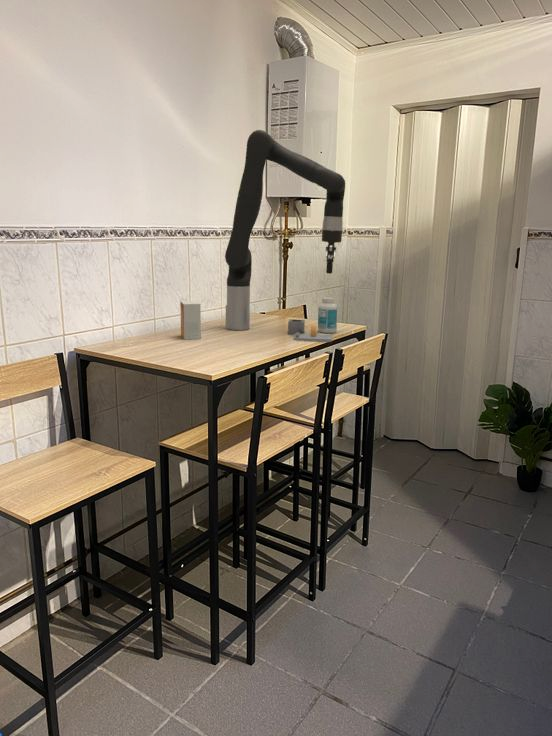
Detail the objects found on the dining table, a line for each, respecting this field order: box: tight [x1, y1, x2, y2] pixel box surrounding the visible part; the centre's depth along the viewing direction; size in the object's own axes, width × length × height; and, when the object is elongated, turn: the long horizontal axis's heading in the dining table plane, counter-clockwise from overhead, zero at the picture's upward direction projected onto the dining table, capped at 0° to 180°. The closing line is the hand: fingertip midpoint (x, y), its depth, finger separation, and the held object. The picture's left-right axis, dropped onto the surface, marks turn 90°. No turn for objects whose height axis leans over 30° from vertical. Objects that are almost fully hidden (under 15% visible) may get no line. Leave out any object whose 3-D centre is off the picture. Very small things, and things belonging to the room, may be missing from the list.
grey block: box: [287, 318, 306, 336], centre depth 225 cm, size 6×6×5 cm
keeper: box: [293, 324, 333, 343], centre depth 215 cm, size 14×9×5 cm, turn 84°
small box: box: [179, 300, 202, 340], centre depth 212 cm, size 8×6×13 cm
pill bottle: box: [317, 297, 338, 334], centre depth 229 cm, size 8×7×14 cm
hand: (329, 272), depth 222 cm, fingers open, 8 cm apart
